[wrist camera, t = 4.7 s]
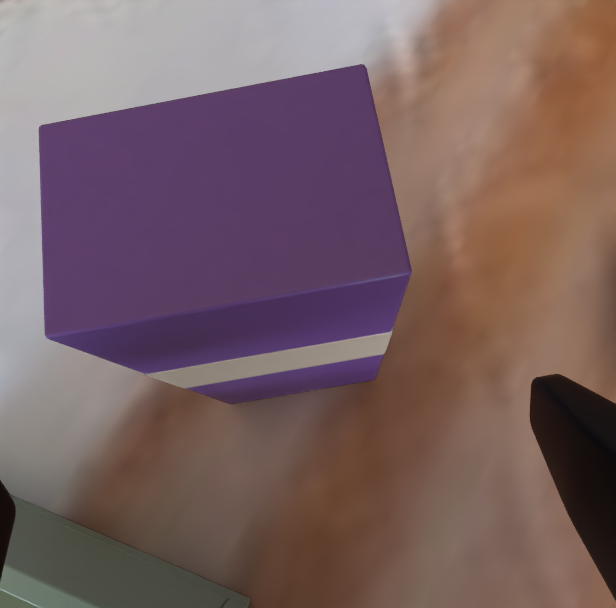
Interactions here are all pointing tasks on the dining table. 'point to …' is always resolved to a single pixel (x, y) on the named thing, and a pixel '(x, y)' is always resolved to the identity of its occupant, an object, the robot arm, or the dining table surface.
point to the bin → (94, 571)
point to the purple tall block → (227, 237)
